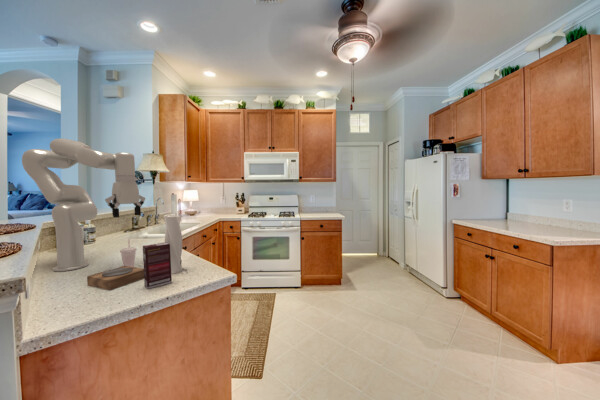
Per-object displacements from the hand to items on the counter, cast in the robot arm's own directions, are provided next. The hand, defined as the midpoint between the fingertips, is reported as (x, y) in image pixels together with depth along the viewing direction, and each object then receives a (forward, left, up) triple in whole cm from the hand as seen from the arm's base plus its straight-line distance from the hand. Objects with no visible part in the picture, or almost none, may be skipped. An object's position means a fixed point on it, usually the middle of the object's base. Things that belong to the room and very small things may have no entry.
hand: (127, 216), depth 112 cm
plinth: (+12, -12, -25) cm, 30 cm away
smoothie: (0, 0, -25) cm, 25 cm away
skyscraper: (+24, +5, -26) cm, 35 cm away
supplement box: (+31, -9, -25) cm, 41 cm away
